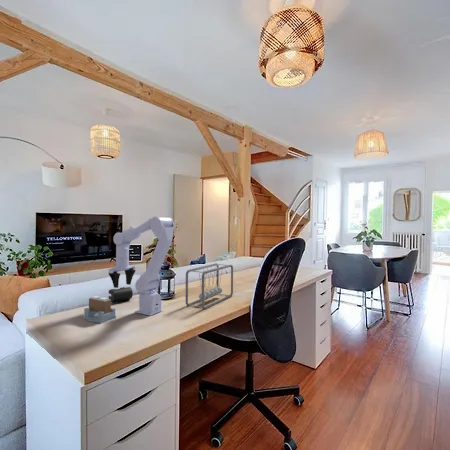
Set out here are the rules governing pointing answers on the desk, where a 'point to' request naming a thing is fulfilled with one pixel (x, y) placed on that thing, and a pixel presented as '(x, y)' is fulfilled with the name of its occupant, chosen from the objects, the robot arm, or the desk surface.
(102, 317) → the display stand
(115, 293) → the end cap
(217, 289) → the newton's cradle
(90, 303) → the tan brown bar
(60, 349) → the desk surface
